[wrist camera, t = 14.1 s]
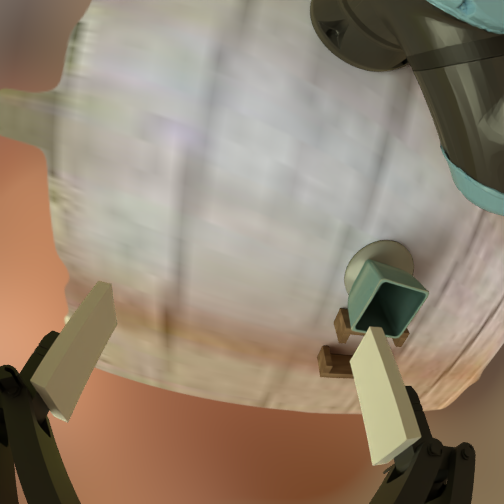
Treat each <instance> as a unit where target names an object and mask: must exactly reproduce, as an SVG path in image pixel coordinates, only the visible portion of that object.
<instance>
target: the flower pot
mask: <svg viewBox="0 0 504 504" xmlns="http://www.w3.org/2000/svg"><path fill="white" fill-rule="evenodd" d="M428 295H429V292H428V291H427V290H426V289H425V288H424V287H423V286H422V285H421V284H420V283H419V282H418V281H417V280H416V279H415V278H414V277H413V276H412V275H411V274H409V273H408V272H406V271H404V270H401V269H399V268H396V267H392V266H389V265H386V264H383V263H380V262H377V261H374V260H371V259H368V260H366V261H365V263H364V265H363V267H362V269H361V271H360V272H359V274H358V276H357V278H356V280H355V282H354V283H353V285H352V288H351V290H350V293H349V297H348V312H349V319H350V325H351V330H352V331H355V332H360V333H366V332H367V330H368V328H369V327H381V328H382V329H383V332H384V334H385V336H386V337H390V338H399V337H400V336H401V335H402V334H403V332H404V331H405V329H406V328H407V326H408V325H409V324H410V322H411V321H412V319H413V318H414V316H415V315H416V313H417V312H418V310H419V309H420V308H421V306H422V305H423V303H424V302H425V300H426V299H427V297H428Z"/></svg>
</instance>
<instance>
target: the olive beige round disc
mask: <svg viewBox="0 0 504 504" xmlns="http://www.w3.org/2000/svg"><path fill="white" fill-rule="evenodd" d="M368 259H371V260H374V261H377V262H380V263H383V264H386V265H389V266H392V267H396V268H399V269H401V270H404V271H406V272H408V273H409V274H411V275H413V270H414V264H413V259H412V256H411V254H410V253H409V251H408V250H407V249H406V248H405V247H404V246H403V245H401V244H400V243H398V242H395V241H390V240H382V241H377V242H373V243H371V244H369V245H367V246H365V247H363V248H362V249H361V250H359V251H358V252H357V253H356V254H355V255H354V256H353V258H352V259H351V260H350V262H349V264H348V266H347V268H346V271H345V276H344V283H345V287H346V290H347V292H348V295H349V293H350V290H351V288H352V285H353V283H354V282H355V280H356V278H357V276H358V274H359V272H360V271H361V269H362V267H363V265H364V263H365V261H366V260H368Z"/></svg>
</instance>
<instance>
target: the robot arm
mask: <svg viewBox="0 0 504 504" xmlns="http://www.w3.org/2000/svg"><path fill="white" fill-rule="evenodd" d="M310 16H311V21H312V25H313V27H314V30H315V32H316V33H317V35H318V37H319V38H320V40H321V41H322V42H323V44H324V45H325V46H326V47H327V48H328V49H329V50H330V51H331V52H332V53H333V54H334V55H336V56H337V57H338V58H340V59H341V60H343V61H345V62H346V63H348V64H350V65H352V66H355V67H357V68H360V69H363V70H368V71H375V72H383V71H390V70H394V69H398V68H401V67H404V66H406V65H407V64H409V63H410V65H411V67H412V70H413V72H414V74H415V76H416V79H417V81H418V83H419V85H420V88H421V90H422V92H423V95H424V97H425V100H426V102H427V105H428V107H429V110H430V113H431V115H432V118H433V121H434V124H435V127H436V130H437V133H438V136H439V139H440V142H441V146H440V147H441V150H442V153H443V155H444V157H445V158H446V160H447V162H448V165H449V168H450V171H451V175H452V178H453V181H454V183H455V185H456V186H457V188H458V189H459V190H460V191H461V192H462V194H463V195H464V196H465V197H466V198H467V199H468V200H469V201H470V202H472V203H473V204H475V205H476V206H478V207H480V208H482V209H484V210H486V211H488V212H491V213H494V214H498V215H502V216H504V0H311V5H310ZM116 326H117V319H116V313H115V306H114V299H113V292H112V284H110V283H106V282H102V281H98V282H97V283H96V285H95V286H94V287H93V289H92V290H91V291H90V293H89V294H88V295H87V297H86V298H85V299H84V301H83V302H82V303H81V305H80V306H79V307H78V309H77V310H76V311H75V313H74V314H73V316H72V317H71V318H70V320H69V321H68V323H67V324H66V325H65V327H64V328H63V330H62V331H61V333H58V332H55V331H51V332H50V333H48V334H47V335H46V336H44V338H43V339H42V340H41V342H40V343H39V346H38V347H37V348H36V349H35V351H34V353H33V354H32V355H31V357H30V358H29V360H28V361H27V363H26V364H25V366H24V367H23V369H22V371H21V372H20V374H19V373H18V371H17V370H16V369H15V368H14V367H13V366H11V365H3V366H0V504H19V502H18V496H17V488H16V480H15V468H14V463H15V467H16V470H17V474H18V477H19V480H20V483H21V486H22V489H23V491H24V495H25V497H26V500H27V503H28V504H81V503H80V501H79V499H78V497H77V495H76V493H75V490H74V488H73V486H72V484H71V481H70V479H69V477H68V474H67V472H66V469H65V467H64V464H63V462H62V459H61V456H60V453H59V450H58V448H57V445H56V442H55V439H54V435H53V432H52V429H51V426H50V422H49V419H48V417H47V414H48V412H49V410H50V411H51V413H52V414H53V416H55V417H57V418H59V419H61V420H63V421H65V422H68V421H69V419H70V417H71V415H72V413H73V410H74V408H75V406H76V404H77V402H78V399H79V397H80V395H81V393H82V391H83V389H84V387H85V385H86V383H87V381H88V379H89V377H90V375H91V373H92V371H93V369H94V367H95V365H96V363H97V361H98V359H99V357H100V355H101V353H102V351H103V349H104V348H105V346H106V344H107V342H108V340H109V338H110V336H111V335H112V333H113V331H114V329H115V327H116ZM350 364H351V368H352V372H353V376H354V380H355V384H356V389H357V393H358V397H359V401H360V406H361V410H362V415H363V419H364V424H365V429H366V434H367V439H368V444H369V448H370V454H371V459H372V465H373V466H374V465H380V464H386V463H388V462H389V461H391V460H392V459H394V462H395V464H393V465H392V466H390V467H389V468H387V469H386V470H385V471H384V472H383V473H384V474H385V473H386V472H388V471H389V472H388V474H387V476H386V477H385V479H384V481H383V483H382V484H381V486H380V487H379V489H378V491H377V492H376V494H375V495H374V497H373V498H372V500H371V502H370V503H369V504H471V499H472V491H473V483H474V472H475V450H474V448H473V446H472V445H470V444H469V443H466V442H463V443H461V444H460V445H458V446H457V447H447V446H443V445H442V443H441V442H440V441H439V440H438V439H435V438H432V435H431V433H430V429H429V426H428V423H427V420H426V417H425V414H424V411H422V410H423V409H422V406H421V404H420V400H419V397H418V395H417V393H416V392H415V390H414V389H413V388H412V387H411V386H405V385H404V383H403V380H402V377H401V374H400V372H399V369H398V366H397V364H396V361H395V359H394V356H393V354H392V351H391V349H390V346H389V344H388V341H387V339H386V336H385V334H384V332H383V329H382V328H381V327H369V328H368V330H367V332H366V334H365V336H364V338H363V339H362V341H361V343H360V345H359V346H358V348H357V350H356V352H355V353H354V355H353V357H352V358H351V360H350ZM446 481H447V484H446Z"/></svg>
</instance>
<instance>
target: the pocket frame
mask: <svg viewBox="0 0 504 504" xmlns="http://www.w3.org/2000/svg"><path fill="white" fill-rule="evenodd" d="M334 326H335V329H336V333H337V337H338V341H339V343H346V342H347V340H348V338H349V336H350V334H351V335H363V336H365V334H366V333H360V332H355V331H352V330H351V325H350V319H349V312H348V309H342V308H340V310H339V312H338V314H337V316H336V319H335V321H334ZM409 334H410V333H409V331H408V329H407V328H406V329H405V331H404V332H403V334H402V335H401V336H400V337H399V338H392V339H393V341H394V343H395V346H396V347H401V346H402V345H403V343H404V342H405V340H406V338H407V337H408V335H409ZM352 357H353V356H351V355H336V354H330V350H329V346H322V348H321V350H320V352H319V354H318V357H317V359H318V365H319V372H320V377H330V378H354V376H353V372H352V368H351V364H350V360H351V358H352Z"/></svg>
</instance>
